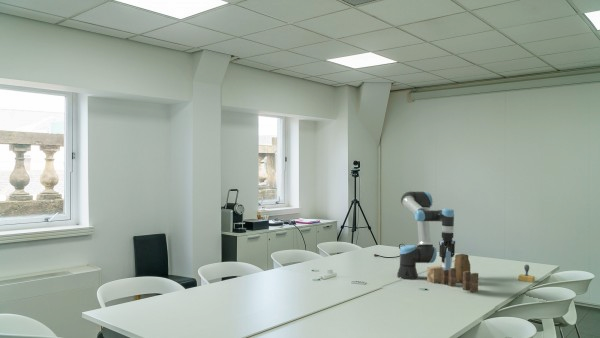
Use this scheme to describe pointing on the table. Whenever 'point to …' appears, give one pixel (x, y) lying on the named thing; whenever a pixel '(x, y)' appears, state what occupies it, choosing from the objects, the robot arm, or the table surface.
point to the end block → (434, 274)
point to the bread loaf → (461, 266)
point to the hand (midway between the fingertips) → (446, 266)
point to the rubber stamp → (526, 275)
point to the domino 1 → (448, 260)
